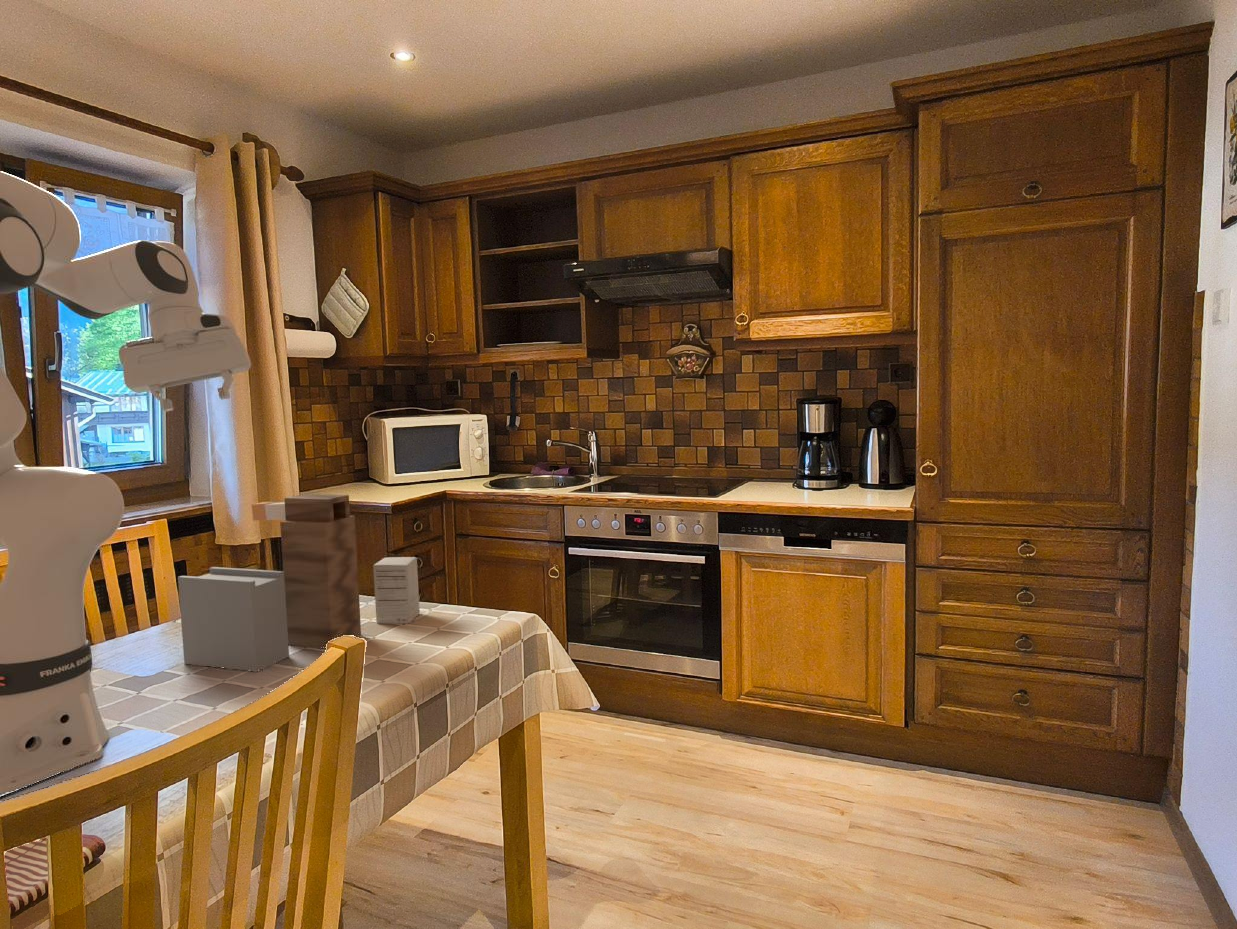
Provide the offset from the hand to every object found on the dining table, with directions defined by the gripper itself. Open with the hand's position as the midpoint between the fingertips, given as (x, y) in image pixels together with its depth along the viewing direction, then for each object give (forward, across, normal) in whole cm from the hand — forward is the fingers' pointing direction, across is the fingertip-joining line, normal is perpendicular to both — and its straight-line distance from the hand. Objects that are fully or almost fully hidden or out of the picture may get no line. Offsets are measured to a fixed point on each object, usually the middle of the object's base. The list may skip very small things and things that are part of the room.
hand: (196, 404), depth 137 cm
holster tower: (+46, +9, +18) cm, 50 cm away
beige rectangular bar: (+21, +8, +15) cm, 27 cm away
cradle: (+45, -5, +11) cm, 47 cm away
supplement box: (+46, +22, +29) cm, 59 cm away
